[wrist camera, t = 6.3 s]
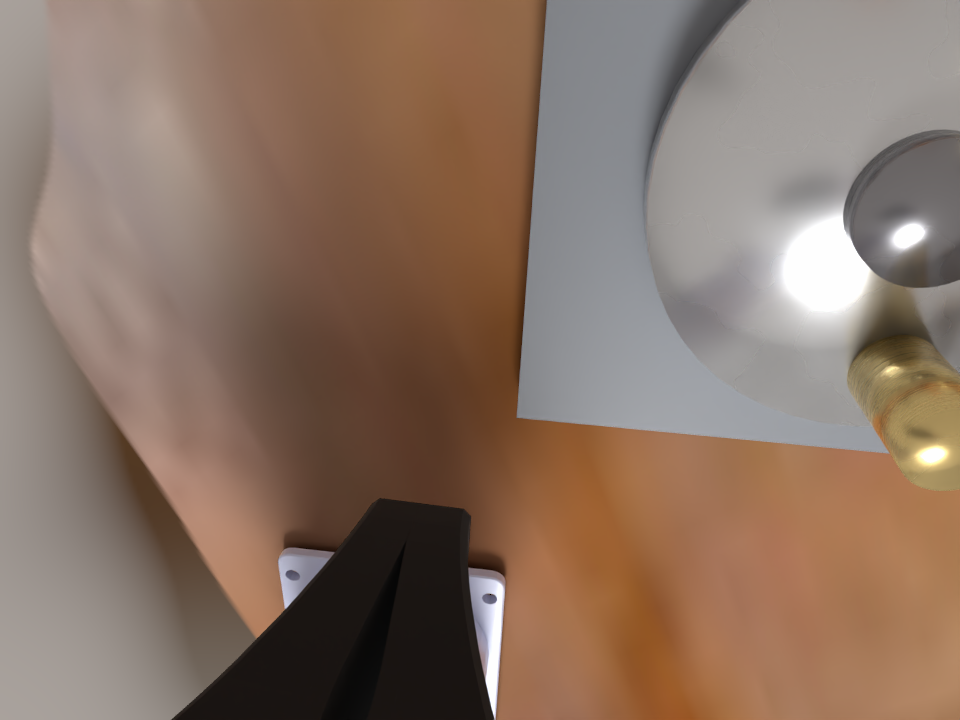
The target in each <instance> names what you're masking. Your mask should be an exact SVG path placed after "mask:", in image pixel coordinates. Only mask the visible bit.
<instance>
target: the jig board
mask: <svg viewBox="0 0 960 720" xmlns="http://www.w3.org/2000/svg"><path fill="white" fill-rule="evenodd" d="M739 1H740V0H547V8H546V22H545V36H544V49H543V63H542V77H541V91H540V104H539V118H538V132H537V146H536V159H535V173H534V187H533V201H532V215H531V228H530V242H529V256H528V270H527V283H526V297H525V311H524V325H523V338H522V352H521V366H520V380H519V393H518V407H517V418H525V419H535V420H546V421H556V422H566V423H577V424H587V425H598V426H608V427H619V428H629V429H640V430H650V431H661V432H671V433H682V434H692V435H703V436H713V437H723V438H734V439H744V440H755V441H765V442H776V443H786V444H797V445H807V446H818V447H828V448H839V449H849V450H860V451H870V452H880V453H889V452H888V450H887V449H886V447H885V445H884V444H883V442H882V441H881V439H880V438H879V436H878V435H877V433H876V432H875V430H874V429H873V427H872V426H846V425H837V424H829V423H821V422H817V421H812V420H808V419H804V418H799V417H795V416H792V415H789V414H786V413H783V412H780V411H778V410H775V409H772V408H769V407H766V406H764V405H762V404H760V403H758V402H757V401H755V400H753V399H751V398H749V397H747V396H745V395H743V394H741V393H739V392H738V391H737V390H735V389H734V388H732V387H731V386H729V385H728V384H726V383H725V382H723V381H722V380H720V379H719V378H718V377H717V376H716V375H715V374H714V373H712V372H711V371H710V370H709V369H708V368H707V367H706V366H705V365H704V364H703V363H701V362H700V361H699V360H698V358H697V357H696V356H695V355H694V354H693V352H692V351H691V350H690V349H689V347H688V346H687V345H686V344H685V343H684V341H683V340H682V339H681V337H680V335H679V334H678V332H677V330H676V329H675V327H674V325H673V324H672V322H671V320H670V319H669V317H668V315H667V313H666V310H665V308H664V305H663V303H662V300H661V298H660V296H659V293H658V291H657V288H656V284H655V280H654V276H653V272H652V268H651V264H650V260H649V255H648V251H647V247H646V240H645V229H644V219H643V209H644V187H645V180H646V174H647V168H648V163H649V157H650V152H651V149H652V146H653V142H654V139H655V136H656V133H657V130H658V126H659V123H660V120H661V118H662V115H663V113H664V111H665V109H666V107H667V104H668V102H669V100H670V98H671V96H672V93H673V91H674V89H675V87H676V85H677V83H678V81H679V80H680V78H681V76H682V75H683V73H684V71H685V70H686V68H687V67H688V65H689V63H690V62H691V60H692V58H693V57H694V55H695V53H696V52H697V50H698V49H699V48H700V47H701V45H702V44H703V43H704V41H705V40H706V39H707V37H708V36H709V35H710V34H711V32H712V31H713V30H714V28H715V27H716V26H717V24H718V23H719V22H720V21H721V19H722V18H723V17H724V16H725V15H726V14H727V13H728V12H729V11H730V10H731V9H732V8H733V7H734V6H735V5H736V4H737V3H738V2H739Z"/></svg>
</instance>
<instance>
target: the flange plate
mask: <svg viewBox="0 0 960 720" xmlns="http://www.w3.org/2000/svg"><path fill="white" fill-rule="evenodd" d="M643 219H644V229H645V240H646V247H647V251H648V255H649V260H650V264H651V268H652V272H653V276H654V280H655V284H656V288H657V291H658V293H659V296H660V298H661V300H662V303H663V305H664V308H665V310H666V313H667V315H668V317H669V319H670V320H671V322H672V324H673V325H674V327H675V329H676V330H677V332H678V334H679V335H680V337H681V339H682V340H683V341H684V343H685V344H686V345H687V346H688V347H689V349H690V350H691V351H692V352H693V354H694V355H695V356H696V357H697V358H698V360H699V361H700V362H701V363H703V364H704V365H705V366H706V367H707V368H708V369H709V370H710V371H711V372H712V373H714V374H715V375H716V376H717V377H718V378H719V379H720V380H722V381H723V382H725V383H726V384H728V385H729V386H731V387H732V388H734V389H735V390H737V391H738V392H739V393H741V394H743V395H745V396H747V397H749V398H751V399H753V400H755V401H757V402H758V403H760V404H762V405H764V406H766V407H769V408H772V409H775V410H778V411H780V412H783V413H786V414H789V415H792V416H795V417H799V418H804V419H808V420H812V421H817V422H821V423H829V424H837V425H846V426H872V427H873V429H874V430H875V432H876V433H877V435H878V436H879V438H880V439H881V441H882V442H883V444H884V445H885V447H886V449H887V450H888V452H889V453H890V455H891V456H892V458H893V459H894V461H895V462H896V464H897V465H898V467H899V469H900V470H901V472H902V473H903V474H904V476H905V477H906V478H907V479H908V480H909V481H911V482H912V483H913V484H915V485H917V486H919V487H922V488H925V489H930V490H936V491H950V490H957V489H960V0H740V1H739V2H738V3H737V4H736V5H735V6H734V7H733V8H732V9H731V10H730V11H729V12H728V13H727V14H726V15H725V16H724V17H723V18H722V19H721V21H720V22H719V23H718V24H717V26H716V27H715V28H714V30H713V31H712V32H711V34H710V35H709V36H708V37H707V39H706V40H705V41H704V43H703V44H702V45H701V47H700V48H699V49H698V50H697V52H696V53H695V55H694V57H693V58H692V60H691V62H690V63H689V65H688V67H687V68H686V70H685V71H684V73H683V75H682V76H681V78H680V80H679V81H678V83H677V85H676V87H675V89H674V91H673V93H672V96H671V98H670V100H669V102H668V104H667V107H666V109H665V111H664V113H663V115H662V118H661V120H660V123H659V126H658V130H657V133H656V136H655V139H654V142H653V146H652V149H651V152H650V157H649V163H648V168H647V174H646V180H645V187H644V209H643Z"/></svg>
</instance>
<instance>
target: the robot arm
mask: <svg viewBox="0 0 960 720" xmlns="http://www.w3.org/2000/svg"><path fill="white" fill-rule="evenodd" d="M470 525H471V516H470V515H469V514H468V513H467V512H466V511H465V510H464V509H460V508H452V507H445V506H437V505H429V504H421V503H413V502H405V501H397V500H389V499H381V498H380V499H378V500H377V501H375V502H374V503H372V505H371V506H370V507H369V509H368V510H367V512H366V513H365V514H364V516H363V517H362V518H361V520H360V521H359V522H358V524H357V525H356V526H355V528H354V529H353V530H352V532H351V533H350V534H349V535H348V537H347V538H346V539H345V541H344V542H343V543H342V544H341V546H340V547H339V548H338V549H337V550H336V552H328V551H319V550H311V549H302V548H287V549H284V550H283V552H282V553H281V555H280V557H279V559H278V565H279V572H280V579H281V585H282V592H283V599H284V605H285V610H284V611H283V612H282V614H281V615H280V616H279V617H278V618H277V619H276V620H275V621H274V622H273V623H272V624H271V625H270V626H269V627H268V628H267V629H266V630H265V631H264V632H263V633H262V634H261V635H260V636H259V637H258V638H257V639H256V640H255V641H254V642H253V643H252V644H251V645H250V646H249V647H248V648H247V649H246V650H245V651H244V653H243V654H242V655H241V656H240V657H239V658H238V659H237V660H236V661H235V662H234V663H233V664H232V665H231V666H229V667H228V669H226V670H225V671H224V672H223V673H222V674H221V675H220V676H219V677H218V678H217V679H216V680H215V681H214V682H213V683H212V684H211V685H209V686H208V687H207V688H206V689H205V690H204V691H203V692H202V693H201V694H200V695H199V696H197V697H196V699H194V700H193V701H192V702H191V703H190V704H189V705H187V706H186V707H185V708H184V709H183V710H182V711H181V712H179V713H178V714H177V715H176V716H175V717H174V718H173V719H172V720H496V707H497V693H498V680H499V666H500V652H501V639H502V625H503V612H504V598H505V585H506V582H505V578H504V577H503V575H502V574H500V573H498V572H496V571H493V570H485V569H476V568H468V553H469V539H470ZM293 570H294V571H296V572H294V571H293ZM488 593H490V594H494V595H488Z"/></svg>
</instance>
